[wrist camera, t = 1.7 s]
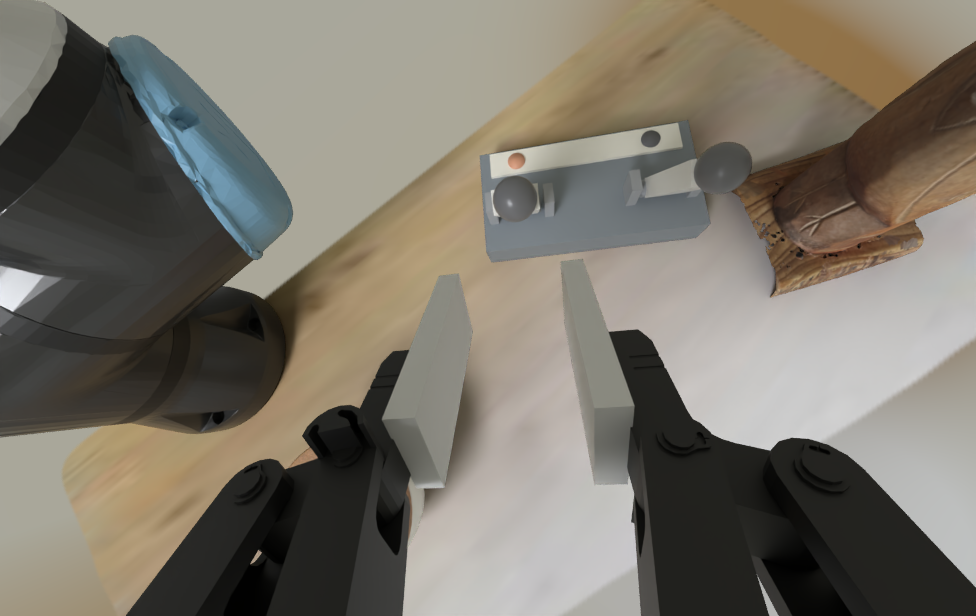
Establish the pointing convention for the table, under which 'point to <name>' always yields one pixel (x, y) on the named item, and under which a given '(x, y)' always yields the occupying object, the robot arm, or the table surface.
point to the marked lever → (515, 199)
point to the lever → (703, 173)
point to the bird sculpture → (871, 182)
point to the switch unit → (594, 194)
